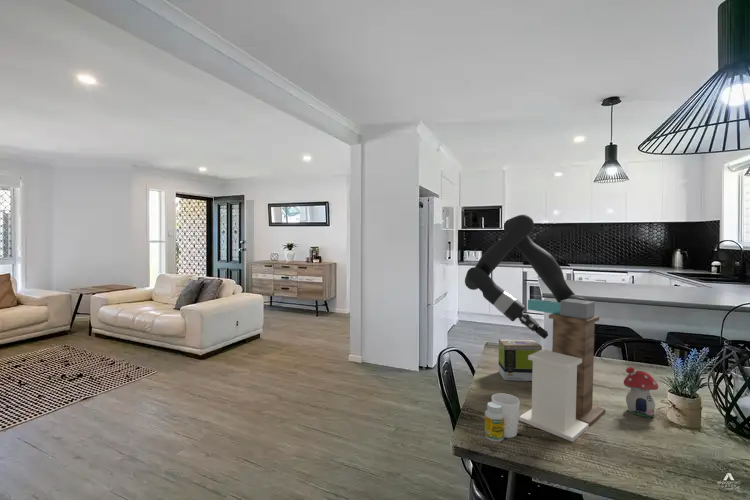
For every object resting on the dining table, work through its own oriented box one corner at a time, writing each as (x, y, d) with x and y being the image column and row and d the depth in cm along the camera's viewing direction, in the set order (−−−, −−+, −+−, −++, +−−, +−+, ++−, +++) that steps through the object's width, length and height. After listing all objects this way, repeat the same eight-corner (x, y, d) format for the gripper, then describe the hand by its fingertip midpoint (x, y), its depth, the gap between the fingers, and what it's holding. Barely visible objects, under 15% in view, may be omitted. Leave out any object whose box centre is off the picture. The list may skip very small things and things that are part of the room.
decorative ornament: (622, 412, 121) (623, 367, 121) (623, 405, 127) (624, 362, 126) (657, 421, 116) (659, 374, 115) (657, 413, 121) (658, 368, 121)
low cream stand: (588, 427, 111) (590, 359, 111) (572, 441, 103) (574, 368, 103) (536, 408, 123) (538, 347, 123) (519, 420, 116) (520, 354, 115)
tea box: (533, 373, 156) (534, 339, 156) (542, 382, 146) (543, 346, 146) (497, 371, 158) (498, 337, 157) (503, 380, 148) (504, 344, 147)
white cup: (517, 427, 111) (518, 395, 111) (520, 441, 104) (520, 406, 103) (490, 423, 113) (491, 391, 113) (491, 436, 106) (491, 402, 106)
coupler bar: (594, 316, 120) (594, 301, 120) (586, 319, 115) (586, 304, 115) (534, 307, 135) (534, 294, 135) (525, 310, 131) (525, 296, 130)
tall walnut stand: (605, 412, 121) (608, 316, 120) (589, 426, 112) (592, 323, 111) (555, 396, 133) (558, 309, 132) (538, 408, 124) (540, 314, 123)
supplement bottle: (496, 431, 109) (497, 399, 109) (508, 440, 104) (508, 407, 103) (480, 433, 108) (481, 401, 107) (491, 443, 102) (491, 409, 102)
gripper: (514, 298, 132) (554, 329, 125) (516, 298, 144) (552, 326, 138) (500, 314, 133) (539, 345, 126) (504, 313, 146) (539, 341, 139)
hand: (546, 335), depth 132 cm, fingers open, 8 cm apart
